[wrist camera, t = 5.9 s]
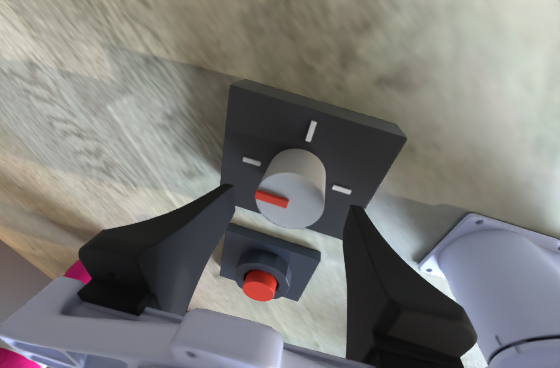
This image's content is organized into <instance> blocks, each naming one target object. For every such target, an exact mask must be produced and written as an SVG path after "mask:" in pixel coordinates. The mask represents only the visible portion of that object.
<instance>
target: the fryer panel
mask: <svg viewBox="0 0 560 368" xmlns="http://www.w3.org/2000/svg"><path fill="white" fill-rule="evenodd" d="M407 139H408V138H407V136H406V135H405V134H404V133H403V132H402V130H401V129H400V128H399V127H398V126H397V125H396V124H394V123H390V122H387V121H384V120H380V119H377V118H374V117H370V116H367V115H364V114H360V113H357V112H354V111H350V110H347V109H343V108H340V107H337V106H333V105H330V104H327V103H323V102H320V101H317V100H313V99H310V98H307V97H303V96H300V95H297V94H293V93H290V92H287V91H283V90H280V89H277V88H273V87H270V86H266V85H263V84H260V83H256V82H253V81H250V80H246V79H244V80H241V81H239V82H236V83H234V84H231V85H230V90H229V100H228V110H227V120H226V130H225V140H224V150H223V160H222V171H221V181H220V186H221V185H223V184H231V185H234V197H235V206H238V207H241V208H245V209H248V210H251V211H254V212H257V213H260V214H262V213H261V212H260V210H259V209H258V207H257V203H256V199H255V194H256V191H257V188H258V186H259V184H260V182H261V180H262V178H263V176H264V174H265V172H266V171H267V169H268V167H269V165H270V163H271V161H272V160H273V158H274V157H275V156H276V155H277V154H279V153H280V152H282V151H284V150H288V149H303V150H306V151H309V152H311V153H312V154H314V155H315V156H316V157H318V158H319V160H320V161H321V162H322V164H323V166H324V168H325V172H326V181H325V204H324V210H323V213H322V215H321V217H320V218H319V219H318V220H317V221H316V222H315V223H313V224H312V225H310V226H307V227H304V228H307V229H310V230H313V231H316V232H319V233H323V234H326V235H329V236H332V237H335V238H338V239H341V240H343V229H344V225H345V222H346V219H347V215H348V212H349V209H350V205H356V206H362V208H363V209H364V210H365V208H366V207H367V205H368V203H369V202H370V200H371V199H372V197H373V195H374V194H375V192H376V190H377V189H378V187H379V185H380V184H381V182H382V180H383V179H384V177H385V175H386V174H387V172H388V170H389V169H390V167H391V166H392V164H393V162H394V161H395V159H396V157H397V156H398V154H399V152H400V151H401V149H402V147H403V146H404V144H405V142H406V141H407Z"/></svg>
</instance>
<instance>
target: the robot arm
mask: <svg viewBox="0 0 560 368" xmlns="http://www.w3.org/2000/svg"><path fill="white" fill-rule="evenodd" d="M234 212H235V197H234V185H231V184H223V185H221V186H219V187H217V188H216V189H214V190H212V191H211V192H209V193H207V194H205V195H204V196H202V197H200V198H198V199H196V200H194V201H193V202H191V203H189V204H187V205H185V206H183V207H181V208H178V209H176V210H174V211H171V212H169V213H166V214H163V215H160V216H158V217H155V218H152V219H149V220H145V221H142V222H138V223H134V224H130V225H126V226H121V227H117V228H112V229H106V230H102V231H101V232H100V233H99V234H98V235H96V236H95V237H94V238H93V239H91V240H90V241H89V242H88V243H86V244H85V245H84V246H83V247H81V248H80V250H79V252H78V254H79V259H80V261H81V263H82V264H83V266H84V267H85V269H86V270H87V272H88V273H89V275H90V276H91V278H92V279H91V280H90V281H89V282H88V283H87V284H85V283H83V282H82V281H79V280H76V279H72V278H68V277H64V276H58V277H57V278H56V279H55V280H53V281H52V282H51V283H50V284H49V285H47V286H46V287H45V288H44V289H43V290H41V291H40V292H39V293H38V294H37V295H35V296H34V297H33V298H32V299H31V300H30V301H28V302H27V303H26V304H25V305H24V306H23V307H21V308H20V309H19V310H17V311H16V312H15V313H14V314H13V315H12V316H10V317H9V318H8V319H7V320H6V321H5V322H3V323H2V324H1V325H0V339H1V340H3V341H4V342H6V343H7V344H8V345H10V346H11V347H12V348H14V349H15V350H16V351H18V352H19V353H20V354H22V355H23V356H25V357H26V358H27V359H29V360H31V361H34V362H37V363H40V364H43V365H46V366H49V367H52V368H464V366H463V364H462V361H461V359H460V357H461V356H462V355H463V354H465V353H466V352H467V351H468V350H470V349H471V348H472V347H473V346H474V345H475V343H476V342H477V344H478V346H479V348H480V350H481V352H482V354H483V356H484V358H485V360H486V362H487V364H488V366H487V367H485V368H560V240H559V239H556V238H553V237H550V236H546V235H543V234H540V233H537V232H533V231H530V230H527V229H524V228H520V227H517V226H514V225H511V224H508V223H504V222H501V221H498V220H495V219H491V218H488V217H485V216H482V215H478V214H475V213H471V214H468V215H466V216H465V217H464V218H463V219H462V220H461V221H460V222H459V223H458V224H457V225H456V226H455V227H454V228H453V229H452V230H451V231H450V233H449V234H448V235H447V236H446V237H445V238H444V239H443V240H442V241H441V242H440V243H439V244H438V245H437V246H436V247H435V248H434V249H433V250H432V251H431V252H430V253H429V254H428V255H427V256H426V257H425V258H424V259H423V260H422V261H421V262H420V263H419V264H418V269H419V270H420V271H422V272H425V273H429V274H432V275H435V276H438V277H441V278H444V279H446V281H447V283H448V285H449V287H450V289H451V291H452V293H453V295H454V297H455V299H456V301H457V303H456V302H455V301H453V300H452V299H451V298H449V297H448V296H446V295H445V294H443V293H442V292H441V291H439V290H438V289H437V288H435V287H434V286H433V285H431V284H430V283H429V282H428V281H426V280H425V279H424V278H423V277H421V276H420V275H419V274H418V273H417V272H416V271H415V270H413V269H412V268H411V267H410V266H409V265H408V264H407V263H406V262H405V261H404V260H403V259H402V258H401V257H400V256H399V255H398V254H397V253H396V252H395V251H394V250H393V249H392V248H391V247H390V245H389V244H388V243H387V242H386V241H385V239H384V238H383V237H382V236H381V234H380V233H379V232H378V230H377V229H376V227H375V226H374V225H373V223H372V222H371V220H370V219H369V217H368V216H367V214H366V212H365V211H364V209H363V208H362V206H356V205H350V209H349V212H348V215H347V219H346V222H345V225H344V229H343V253H344V262H345V271H346V279H347V345H346V359H345V358H341V357H337V356H333V355H329V354H325V353H322V352H318V351H314V350H310V349H306V348H302V347H299V346H295V345H291V344H287V343H283V340H282V337H281V335H280V334H279V333H278V332H277V331H275V330H274V329H273V328H272V327H269V326H267V325H264V324H262V323H259V322H255V321H251V320H247V319H243V318H239V317H235V316H231V315H227V314H223V313H219V312H215V311H211V310H207V309H198V308H196V309H194V310H191V311H188V312H187V313H186V311H187V308H188V305H189V303H190V300H191V298H192V295H193V293H194V291H195V288H196V286H197V284H198V281H199V279H200V277H201V274H202V272H203V270H204V268H205V266H206V264H207V262H208V259H209V257H210V256H211V254H212V252H213V250H214V249H215V247H216V245H217V244H218V242H219V240H220V239H221V237H222V236H223V234H224V232H225V231H226V229H227V227H228V226H229V224H230V222H231V219H232V217H233V215H234ZM477 220H479V221H477ZM476 221H477V222H476ZM185 313H186V314H185Z"/></svg>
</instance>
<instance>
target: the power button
mask: <svg viewBox="0 0 560 368" xmlns="http://www.w3.org/2000/svg"><path fill="white" fill-rule="evenodd" d="M276 285H277V281H276V279H275V277H274V276H272V275H271V274H270V273H267V272H264V271H261V270H252V271H250V272H249V273H248V274H247V276H246V279H245V282H244V284H243V291H244V293H245V294H246V295H247V296H248V297H250V298H252V299H254V300H257V301H269V300H271V299H272V298H273V297H274V293H275V289H276Z"/></svg>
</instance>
